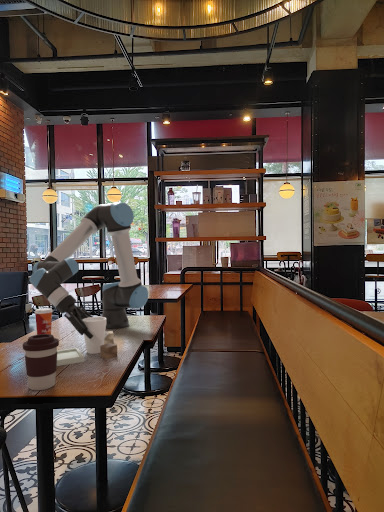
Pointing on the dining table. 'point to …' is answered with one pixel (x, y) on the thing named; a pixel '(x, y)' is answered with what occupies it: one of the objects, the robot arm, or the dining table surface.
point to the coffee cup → (41, 361)
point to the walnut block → (108, 351)
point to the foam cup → (98, 328)
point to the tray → (69, 356)
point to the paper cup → (43, 320)
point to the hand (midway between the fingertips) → (102, 339)
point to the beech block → (109, 338)
